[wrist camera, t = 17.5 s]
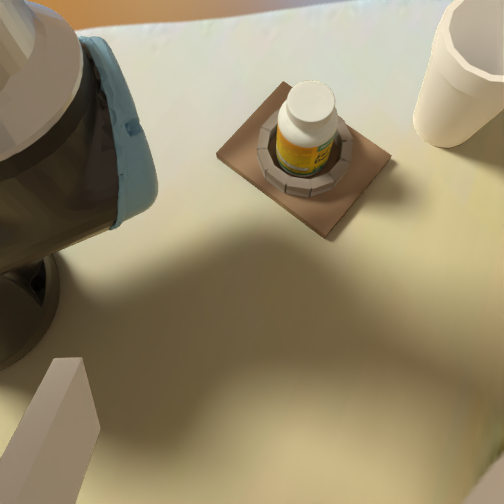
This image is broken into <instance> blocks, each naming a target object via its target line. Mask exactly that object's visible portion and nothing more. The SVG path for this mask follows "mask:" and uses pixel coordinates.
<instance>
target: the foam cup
mask: <svg viewBox="0 0 504 504" xmlns="http://www.w3.org/2000/svg"><path fill="white" fill-rule="evenodd" d="M431 50H432V54H431V57H430V60H429V64H428V67H427V70H426V74H425V77H424V80H423V84H422V87H421V90H420V94H419V97H418V100H417V104H416V107H415V111H414V115H413V123H414V127H415V131H416V132H417V133H418V134H419V135H420V137H421V138H422V139H423V140H424V141H426V142H428V143H430V144H432V145H434V146H436V147H445V148H451V147H454V146H457V145H460V144H462V143H463V142H464V141H466V140H467V139H469V138H470V137H471V136H472V135H473V134H475V133H476V132H477V131H478V130H479V129H481V128H482V127H483V126H484V125H485V124H487V123H488V122H489V121H490V120H491V119H493V118H494V117H495V116H496V115H497V114H498V113H500V112H501V111H502V110H503V109H504V0H454V1H453V2H452V3H451V4H450V5H449V6H448V7H447V8H446V10H445V12H444V14H443V16H442V18H441V21H440V23H439V25H438V27H437V29H436V33H435V36H434V40H433V44H432V47H431Z"/></svg>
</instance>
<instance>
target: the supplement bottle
mask: <svg viewBox="0 0 504 504" xmlns="http://www.w3.org/2000/svg"><path fill="white" fill-rule="evenodd" d="M337 126H338V114H337V110H336V108H335V97H334V94H333V92H332V91H331V89H330V88H329V87H328V86H326V85H325V84H323V83H321V82H319V81H314V80H308V81H303V82H300V83H298V84H296V85H295V86H294V87H293V88H292V89H291V90H290V92H289V94H288V97H287V100H286V101H285V102H284V103H283V104H282V106H281V108H280V110H279V114H278V125H277V143H276V156H277V159H278V162H279V164H280V165H281V167H282V168H283V169H284V170H285V171H286V172H288V173H289V174H291V175H294V176H298V177H307V176H311V175H314V174H316V173H318V172H319V171H320V170H322V169H323V167H324V166H325V164H326V162H327V160H328V157H329V154H330V150H331V147H332V143H333V140H334V136H335V133H336V130H337Z"/></svg>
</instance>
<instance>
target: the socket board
mask: <svg viewBox="0 0 504 504" xmlns="http://www.w3.org/2000/svg"><path fill="white" fill-rule="evenodd" d="M292 88H293V87H291V86H290V85H288V84H287V83H285V82H284V81H283V82H282V83H281V84H280V85H279V86H278V87H277V88H276V90H275V91H274V92H273V93H272V94H271V95H270V96H269V97H268V98H267V99H266V100H265V101H264V102H263V103H262V105H261V106H260V107H259V108H258V109H257V110H256V111H255V112H254V113H253V114H252V115H251V116H250V117H249V119H248V120H247V121H246V122H245V123H244V124H243V125H242V126H241V127H240V128H239V129H238V130H237V131H236V132H235V134H234V135H233V136H232V137H231V138H230V139H229V140H228V141H227V142H226V143H225V144H224V145H223V146H222V148H221V149H220V150H219V151H218V152H217V153H216V155H217V158H218V159H219V160H221V161H222V162H223V163H225V164H226V165H227V166H229V167H230V168H231V169H233V170H234V171H235V172H237V173H238V174H239V175H241V176H242V177H243V178H244V179H246V180H247V181H248V182H250V183H251V184H252V185H254V186H255V187H256V188H258V189H259V190H260V191H262V192H263V193H264V194H266V195H267V196H268V197H270V198H271V199H272V200H274V201H275V202H276V203H278V204H279V205H280V206H282V207H283V208H284V209H286V210H287V211H288V212H290V213H291V214H292V215H294V216H295V217H296V218H298V219H299V220H300V221H302V222H303V223H304V224H306V225H307V226H308V227H310V228H311V229H312V230H314V231H315V232H316V233H318V234H319V235H320V236H321V237H323V238H324V239H325V237H326V236H327V235H328V234H329V233H330V231H331V230H332V229H333V228H334V226H335V225H336V224H337V223H338V222H339V220H340V219H341V218H342V217H343V216H344V214H345V213H346V212H347V211H348V209H349V208H350V207H351V206H352V205H353V203H354V202H355V201H356V200H357V199H358V197H359V196H360V195H361V194H362V192H363V191H364V190H365V189H366V188H367V186H368V185H369V184H370V183H371V182H372V180H373V179H374V178H375V177H376V175H377V174H378V173H379V172H380V171H381V169H382V168H383V167H384V166H385V165H386V163H387V162H388V161H389V159H390V158H391V156H392V155H390V154H389V153H387V152H386V151H384V150H383V149H381V148H380V147H379V146H377V145H376V144H374V143H373V142H371V141H370V140H368V139H367V138H365V137H364V136H363V135H361V134H360V133H358V132H357V131H355V130H354V129H352V128H351V127H349V126H348V125H347V124H346V123H345V121H344V120H343V119H342V118H341V117H339V116H338V126H337V130H336V133H335V136H334V140H333V143H332V147H331V150H330V154H329V157H328V160H327V162H326V164H325V166H324V167H323V169H322V170H320V171H319V172H318V173H316V174H314V175H311V176H307V177H298V176H294V175H291V174H289V173H288V172H286V171H285V170H284V169H283V168H282V167H281V165H280V164H279V162H278V159H277V156H276V143H277V125H278V114H279V110H280V108H281V106H282V104H283V103H284V102H285V101H286V100H287V97H288V94H289V92H290V90H291V89H292Z"/></svg>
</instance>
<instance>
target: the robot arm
mask: <svg viewBox="0 0 504 504" xmlns="http://www.w3.org/2000/svg"><path fill="white" fill-rule="evenodd" d="M157 194H158V180H157V174H156V170H155V166H154V162H153V158H152V155H151V151H150V148H149V145H148V142H147V139H146V136H145V133H144V131H143V129H142V127H141V125H140V124H139V117H138V114H137V111H136V107H135V104H134V101H133V98H132V96H131V93H130V91H129V88H128V86H127V83H126V81H125V78H124V76H123V73H122V71H121V69H120V66H119V64H118V62H117V60H116V58H115V56H114V54H113V52H112V50H111V48H110V47H109V45H108V44H107V42H106V41H105V40H104V39H102V38H100V37H95V36H94V37H83V36H80V37H79V38H78V37H77V35H76V34H75V32H74V30H73V29H72V27H71V26H70V25H69V24H68V23H67V22H66V20H65V19H64V18H63V17H62V16H61V15H59V14H58V13H56V12H55V11H53V10H51V9H50V8H47V7H45V6H43V5H41V4H37V3H34V2H30V1H26V0H0V370H2V369H4V368H6V367H8V366H10V365H12V364H14V363H15V362H17V361H18V360H20V359H21V358H22V357H24V356H25V355H26V354H27V353H28V352H30V351H31V350H32V349H33V348H34V347H35V346H36V344H37V343H38V342H39V341H40V340H41V338H42V337H43V335H44V334H45V332H46V331H47V329H48V327H49V326H50V324H51V322H52V319H53V317H54V314H55V311H56V308H57V304H58V299H59V286H60V285H59V275H58V270H57V266H56V263H55V261H54V258H53V256H52V254H53V253H55V252H57V251H60V250H62V249H65V248H67V247H69V246H72V245H74V244H76V243H79V242H81V241H84V240H86V239H88V238H91V237H93V236H95V235H98V234H100V233H102V232H105V231H107V230H113V229H116V228H117V227H119V226H120V225H121V224H122V222H124V221H126V220H128V219H130V218H132V217H134V216H136V215H138V214H140V213H142V212H144V211H146V210H147V209H148V208H150V207H151V206H152V204H153V203H154V202H155V200H156V197H157ZM100 429H101V427H100V424H99V420H98V416H97V412H96V408H95V404H94V401H93V397H92V393H91V389H90V385H89V382H88V378H87V374H86V370H85V366H84V362H83V359H82V357H74V358H54V359H53V361H52V363H51V365H50V367H49V369H48V370H47V372H46V374H45V376H44V378H43V380H42V382H41V384H40V385H39V387H38V389H37V391H36V393H35V395H34V397H33V399H32V400H31V402H30V404H29V406H28V408H27V410H26V412H25V414H24V416H23V417H22V419H21V421H20V423H19V425H18V427H17V429H16V431H15V432H14V434H13V436H12V438H11V440H10V442H9V444H8V446H7V447H6V449H5V451H4V453H3V455H2V457H1V459H0V504H75V503H76V500H77V497H78V494H79V491H80V488H81V485H82V482H83V479H84V476H85V473H86V470H87V467H88V465H89V462H90V459H91V456H92V453H93V450H94V447H95V444H96V441H97V438H98V435H99V432H100Z"/></svg>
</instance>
